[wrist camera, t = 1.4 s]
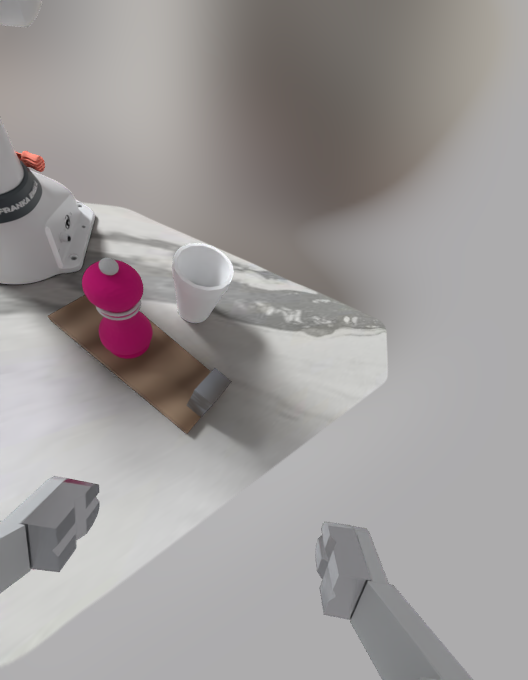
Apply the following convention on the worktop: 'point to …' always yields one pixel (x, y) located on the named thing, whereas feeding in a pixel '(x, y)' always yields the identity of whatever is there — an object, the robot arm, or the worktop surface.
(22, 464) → the worktop surface
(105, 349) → the strip
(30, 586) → the worktop surface
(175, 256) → the foam cup
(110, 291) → the pepper mill
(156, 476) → the worktop surface
